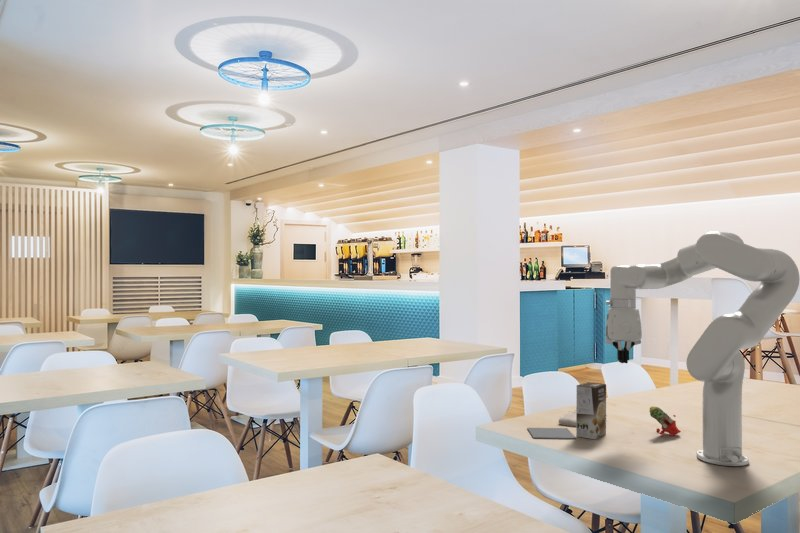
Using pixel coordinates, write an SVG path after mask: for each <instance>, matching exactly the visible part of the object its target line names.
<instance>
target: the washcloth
mask: <svg viewBox="0 0 800 533" xmlns="http://www.w3.org/2000/svg"><path fill="white" fill-rule="evenodd" d="M576 410H577V409H574V410H572V411H571V410H569V411H568V412H567V413H565V414H563V415H562V416H560V417H559V419H558V424H559V425H560V426H561V425H562V426H566V425H567V426H568V427H574V426H575V427H576V421H577V420H576V414H577V413H576ZM606 417H608V415H607V414H606ZM575 427H574V428H575Z"/></svg>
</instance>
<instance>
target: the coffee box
mask: <svg viewBox="0 0 800 533" xmlns="http://www.w3.org/2000/svg"><path fill="white" fill-rule="evenodd" d="M575 410H576V413H577V414H576V420H577V421H576V433H575V434H576V436H575V437H578V438H584V439H589V440H597V439H599V438H602V437H603V436H605V435H606V434H607V420H606V419H607V416H606V415H607V384H606V383H602V382H601V383H599V382H585V383H580V384H577V385H576V409H575Z"/></svg>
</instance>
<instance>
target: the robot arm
mask: <svg viewBox="0 0 800 533" xmlns="http://www.w3.org/2000/svg"><path fill="white" fill-rule="evenodd" d="M715 269H719V270H722V271H724V272H726V273H728V274H731V276H734V277H736V278H739V279H742V280H745V281H748V282H754V283H755V282H757V283H758V282H760V283H759V285H758V286H757V287H756V288H755V289H754V290H753V291H751V292H750V294H749V295H748V296H747V298H746V299H745V300H744V302H743V304H742V305H741V306H740V307H739V309H738V310H737V311H736V312H734V313H727V314H726V313H725V314H722V315H720V316H718V317H716V318H715V319H713V321H711V322H710V324H708V326H707V327H706V329H705V330H704V331H703V333H702V334H701V335H700V337H699V338H698V339H697V341H696V342H695V344H694V345H693V347H692V348H691V349H690V351H689V353H688V354H687V356H686V363H685V364H686V369H687V372H688V373H689V374H690V376H691V377H692V378H693V379H695V380H697V381H698V382H702V383H703V387H702V449H699V450H697V451H696V457H697V459H699V460H701V461H703V462H705V463H709V464H713V465H718V466H724V467H725V466H727V467H743V466H746V465H748V464H749V463H750V461H749V457H747V455H744V454H743V414H742V413H743V405H742V404H743V383H744V382H743V381H744V378H745V377H744V375H745V370H746V369H745V368H746V367H745V366H746V363H745V359H744V356H743V354H742V353H741V351H743V350H746V349H752V348H755V347H756V346H758V344H760V343H761V341H762V340H763V339H764V337H765V336H766V335H767V333H768V332H769V331H770V330H771V328H772V327H773V326H774V324H775V323H776V322H777V320H778V319H779V317H780V316H781V315H782V313H784V311H785V309H786V308H787V307H788V306H789V304H790V303H791V302H792V300H793V299H794V297H795V295H796V293H797V291H798V289H799V285H800V271H799V268H798V266H797V264H796V261H794V259H793V258H792V257H791V256H790V255H789V254H787V253H785V252H784V251H781V250H779V249H773V248H760V247H754V246H752V245H749V244H746V243H744V240H743V239H742V238H741V237H740V236H739V235H737V234H735V233H732V232H728V231H727V232H726V231H715V230H714V231H709V232H706V233H704V234H702V235H701V236H700V237H699V238H698V240H696V242H694V243H692V244H689V245H686V246H684V247H681V248H680V249H679V250H678V251H677V255H676V257H675V258H672V259H670V260H666V261H664V262H661V263H659V264H633V265H614V266H612V267H611V268H610V279H609V280H610V284H609V285H610V288H609V289H610V295H609V296H610V299H609V300H605V305H606V306H609V307H610V308H608V309H607V314H606V320H605V321H606V324H605V341H604V342H605V343H606V344H608V345H610V346H611V345H612V346H613V347H614V348H615V349H616V350H617V352H616V355H617V356H616V358H617V361H618V362H619V363H620V364H628V363H629V361H630V350H631V349H632V348H633V347H634V346H636V345H641V343H642V337H643V336H642V323H641V322H642V321H641V315H640V310H639V309H638V308H637V304H636V303H637V302H636V300H637V299H636V297H637V296H636V294H637V293H636V290H658V289H663V288H667V287H669V286H672V285H675V284H678V283H682V282H684V281H686V280H688V279H690V278H692V277H694V276H696V275H701V274H703V273H705V272H708V271H711V270H715ZM622 342H624V345H623V344H622ZM740 350H741V351H740Z"/></svg>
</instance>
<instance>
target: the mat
mask: <svg viewBox="0 0 800 533" xmlns="http://www.w3.org/2000/svg"><path fill="white" fill-rule="evenodd" d="M527 431H528V432H529V433H530V435H531V437H532V438H533V439H539V440H540V439H541V440H543V439H544V440H548V439H549V440H577V436H575V435H574V434H573V432H571V431H570V430H569V428H567V427H527Z"/></svg>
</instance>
